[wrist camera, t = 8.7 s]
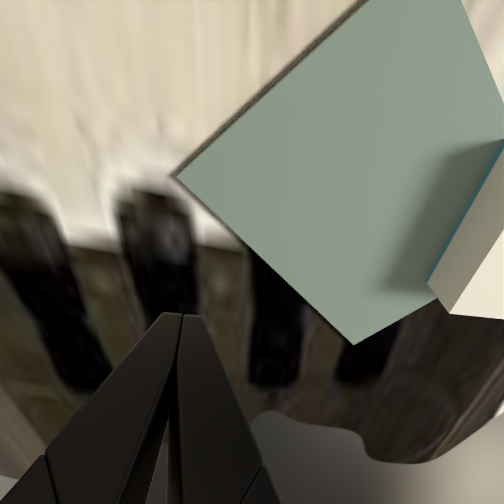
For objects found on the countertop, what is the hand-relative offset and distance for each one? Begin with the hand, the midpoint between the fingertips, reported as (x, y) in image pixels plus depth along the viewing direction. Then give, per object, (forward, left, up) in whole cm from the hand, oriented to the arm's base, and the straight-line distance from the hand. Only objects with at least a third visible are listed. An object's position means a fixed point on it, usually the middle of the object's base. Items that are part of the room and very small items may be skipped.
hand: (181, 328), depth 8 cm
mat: (+5, -8, -12) cm, 16 cm away
